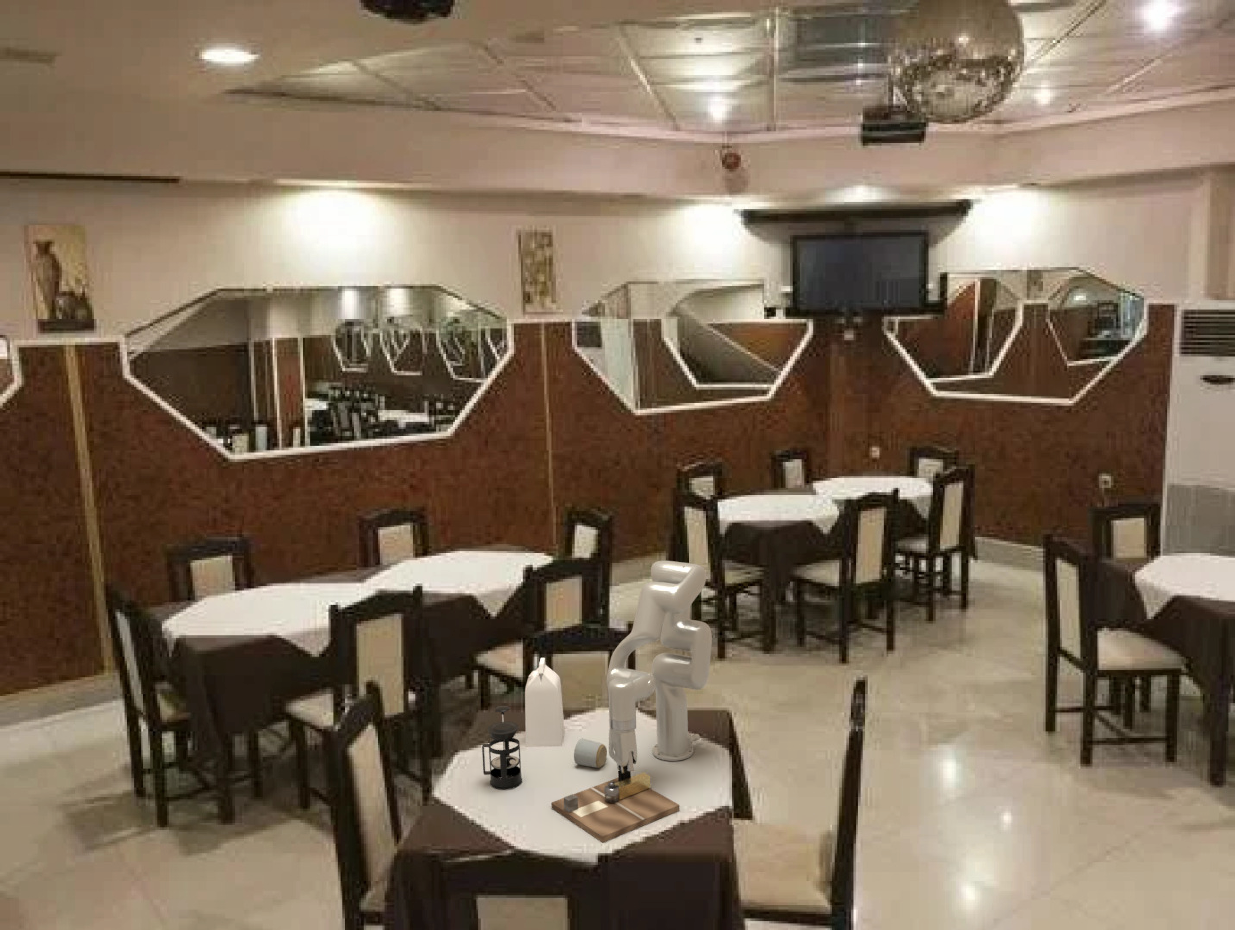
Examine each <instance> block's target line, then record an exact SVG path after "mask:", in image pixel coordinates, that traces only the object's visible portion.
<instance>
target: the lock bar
mask: <svg viewBox="0 0 1235 930" xmlns="http://www.w3.org/2000/svg"><path fill="white" fill-rule="evenodd" d="M648 788H650V789H651V775H649V774H647V773H645V772H641V773H638V774H636V775H633V776H631V777H630V778H627V779H625V780H622V781H619V782H617V783H615V787H613V788H609V787H608V785H606V786H605V787H604V791H605V801H606V802H608V803H615V802H618V801H619V800H620V799H623V798H625V797H628V796H631V795H633V794H636V793H638V792H641V791H643V790H646V789H648Z"/></svg>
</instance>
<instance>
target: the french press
mask: <svg viewBox="0 0 1235 930" xmlns="http://www.w3.org/2000/svg"><path fill="white" fill-rule="evenodd" d="M494 710H495V712H499V713H500V714H501V718H502V721H498V722H495V723H492V724H491V725H489V726H488V728H487V732H488V733H489V738H490V739H492V740H491V741H489V743H483V744H482V746H481V753H482V754H481V755H482V767H483V768H482V770H483V771H482V772H483V775H484V776H487V775H488V776H490V780H489V784H490V786H491V788H493V789H495V790H505V791H507V790H513V789H515V788H517V787H519V786H521V784H522V783H523V778H522V766H521V764H522V763H521V748H520V747H521V744H520V740H519V739H517V738H515V736H516V733H517V732H518V730H519V729H520V726H519V724H518V723H516V722H513V721H504V720H505V719H504V715H505V712H508V711H509V710H510V706H507V705H500V706H497V707H496V708H494ZM498 743H502V748H503V749H496V748H493V747H492V746H494V745H496V744H498ZM510 743H514V744H517V745H516V746H514V747H512V748H510ZM485 748H488V753H489V754H488V755H489V770H488V771H487V770H486V761H485V760H486V759H485V757H486V756H485ZM517 751H518V757H517V756H515V755H510V754H513V753H516V752H517ZM491 753H492V754H495V755H499V756H497V757H495V758H493V759H492V754H491Z"/></svg>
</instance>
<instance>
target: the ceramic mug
mask: <svg viewBox="0 0 1235 930" xmlns="http://www.w3.org/2000/svg"><path fill="white" fill-rule="evenodd" d="M607 757H608V750H607V747H606V745H605V744H603V743H600V742H597V741H593V740H590V739H586V738H579V739H578V741H577V742H576V744H575V746H574V752H573V760H574V764H577V765H579V766H585V767H592V768H601V767H602V766H604V764H605V763H606V759H607Z"/></svg>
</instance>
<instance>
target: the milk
mask: <svg viewBox="0 0 1235 930" xmlns="http://www.w3.org/2000/svg"><path fill="white" fill-rule="evenodd" d="M538 663H539V664H538V667H537V669H536V670H535V669H534V670H532V671H531V673H530V674H529V675H528V678H527V681H526V684H525V690H524V691H525V692H524V700H525V701H524V706H525V707H524V710H525V711H524V712H525V713H524V714H525V715H524V716H525V718H524V719H525V747H526V748H528V747H529V748H531V747H534V748H535V747H537V748H538V747H539V748H540V747H562V746H563V743H564V737H565V732H566V731H565V729H566V728H565V718H564V709H563V705H564V704H563V694H562V686H561V678H560V676H559V675H558V673H556V672H555V671H554V670H553V669H551V668H550V667H549V666H548V665H547V664H546V658H545V657H540V661H539V662H538Z"/></svg>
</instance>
